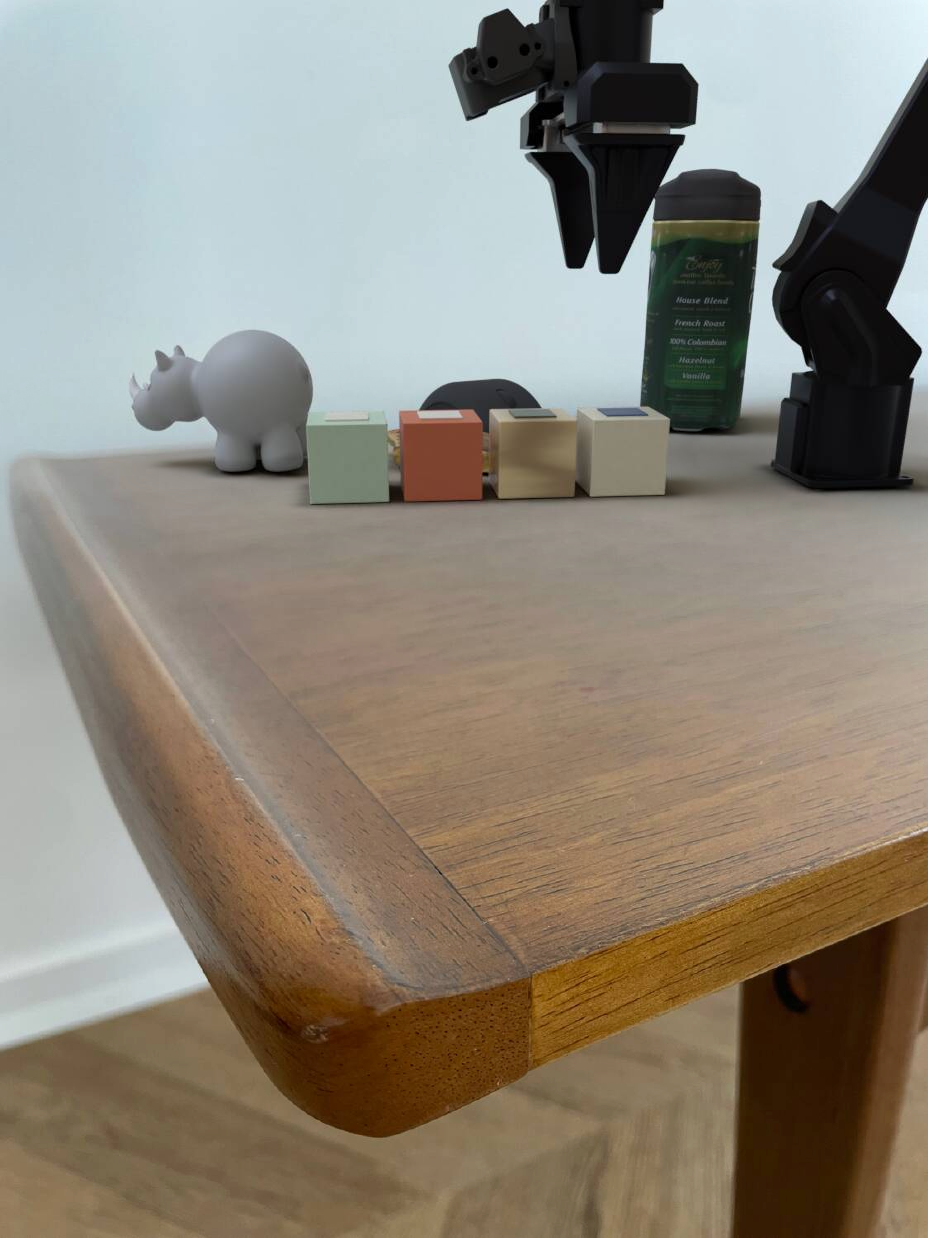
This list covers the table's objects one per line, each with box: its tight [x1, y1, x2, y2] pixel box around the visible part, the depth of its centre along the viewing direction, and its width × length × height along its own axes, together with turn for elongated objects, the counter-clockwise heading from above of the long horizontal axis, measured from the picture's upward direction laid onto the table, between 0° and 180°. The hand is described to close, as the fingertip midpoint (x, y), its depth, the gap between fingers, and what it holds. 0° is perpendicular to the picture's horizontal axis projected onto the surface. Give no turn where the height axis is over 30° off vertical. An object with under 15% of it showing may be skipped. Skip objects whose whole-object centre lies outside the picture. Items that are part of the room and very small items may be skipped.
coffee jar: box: [639, 168, 762, 432], centre depth 79 cm, size 10×8×19 cm
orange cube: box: [398, 409, 483, 503], centre depth 60 cm, size 4×4×4 cm
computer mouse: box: [418, 378, 542, 433], centre depth 77 cm, size 6×11×4 cm, turn 30°
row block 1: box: [306, 410, 390, 505], centre depth 59 cm, size 4×4×4 cm
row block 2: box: [488, 407, 577, 500], centre depth 60 cm, size 4×4×4 cm
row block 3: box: [575, 406, 671, 498], centre depth 61 cm, size 4×4×4 cm
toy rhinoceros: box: [128, 329, 314, 473], centre depth 66 cm, size 7×12×8 cm, turn 82°
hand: (590, 270), depth 63 cm, fingers open, 9 cm apart
